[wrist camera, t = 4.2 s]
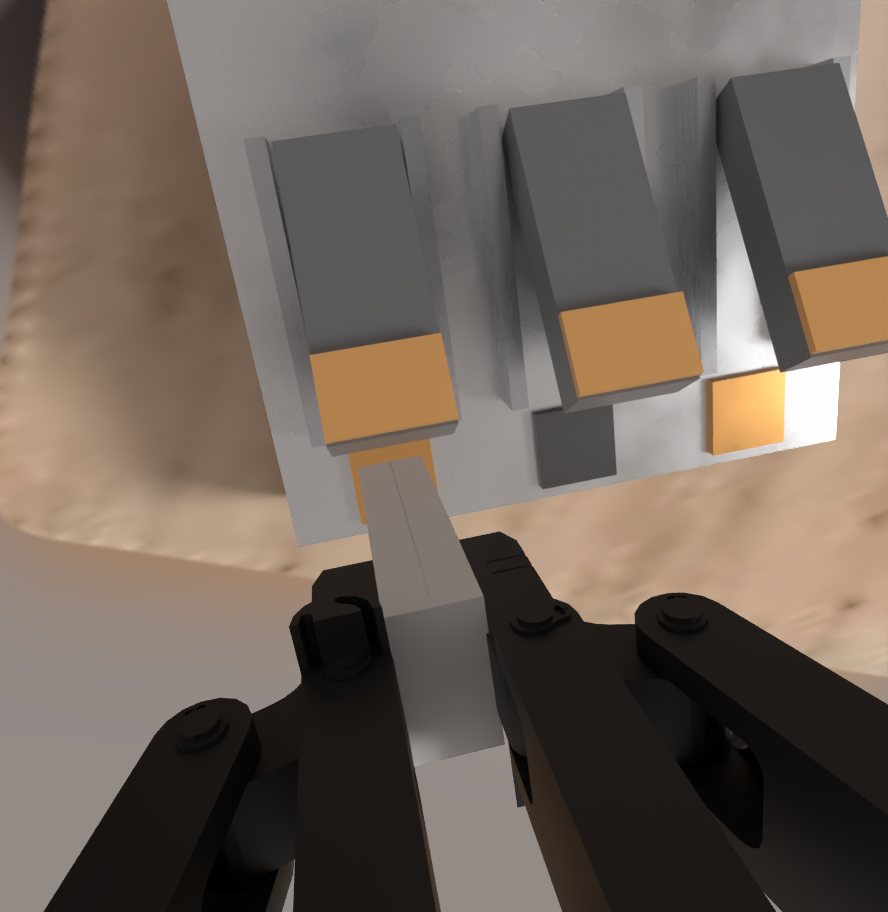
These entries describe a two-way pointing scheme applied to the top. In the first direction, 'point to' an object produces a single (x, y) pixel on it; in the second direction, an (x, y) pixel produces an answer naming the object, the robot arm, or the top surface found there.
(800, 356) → the switch
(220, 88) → the switch unit
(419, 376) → the switch
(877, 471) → the top surface
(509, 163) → the switch
